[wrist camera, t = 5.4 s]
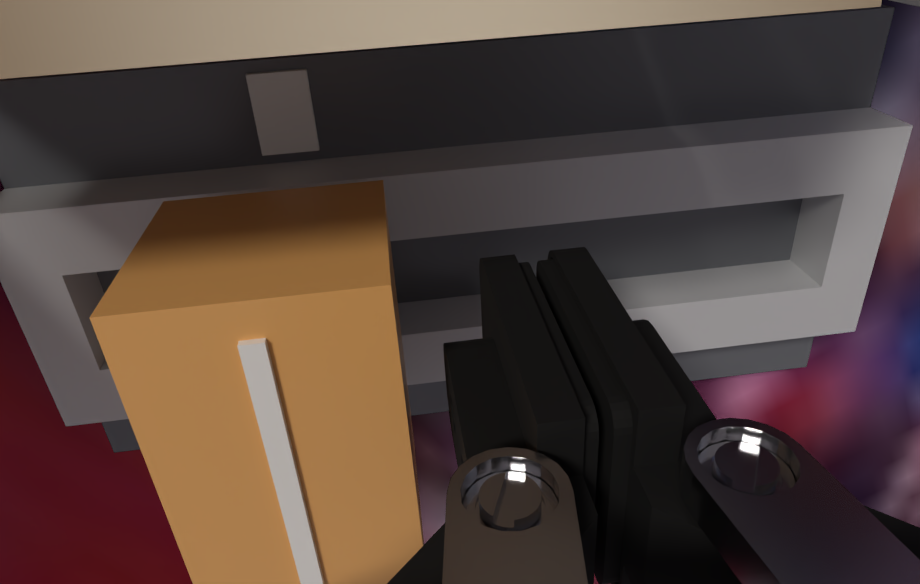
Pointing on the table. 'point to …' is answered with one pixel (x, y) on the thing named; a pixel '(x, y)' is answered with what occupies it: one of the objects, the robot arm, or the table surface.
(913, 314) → the table surface
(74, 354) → the fader board
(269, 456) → the fader knob
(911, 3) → the door
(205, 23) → the tan open box
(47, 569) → the table surface
